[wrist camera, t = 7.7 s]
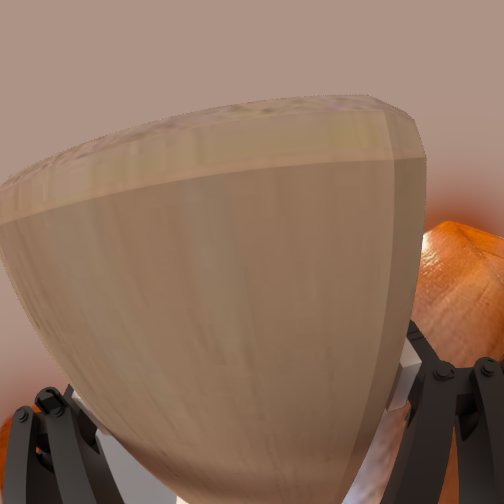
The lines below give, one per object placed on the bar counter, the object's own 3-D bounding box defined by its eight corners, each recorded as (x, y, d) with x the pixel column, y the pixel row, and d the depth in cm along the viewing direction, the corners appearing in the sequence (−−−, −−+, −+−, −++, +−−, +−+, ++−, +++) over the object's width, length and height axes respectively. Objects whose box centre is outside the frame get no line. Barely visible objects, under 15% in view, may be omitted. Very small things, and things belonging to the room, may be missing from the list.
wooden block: (209, 400, 22) (130, 140, 13) (332, 395, 20) (330, 108, 12) (185, 508, 13) (-33, 196, 4) (343, 510, 11) (446, 95, 3)
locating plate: (207, 425, 26) (201, 412, 25) (201, 573, 11) (191, 572, 10) (76, 416, 27) (65, 403, 25) (41, 528, 11) (24, 519, 10)
